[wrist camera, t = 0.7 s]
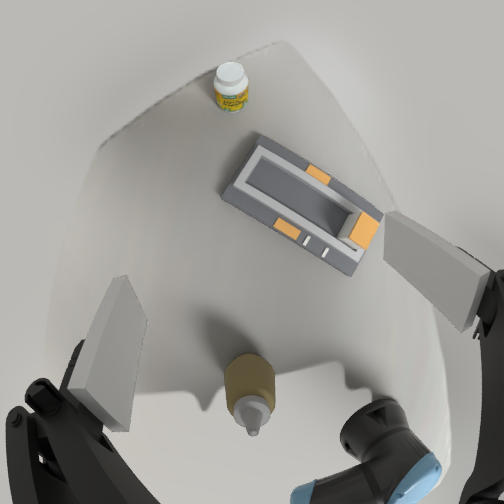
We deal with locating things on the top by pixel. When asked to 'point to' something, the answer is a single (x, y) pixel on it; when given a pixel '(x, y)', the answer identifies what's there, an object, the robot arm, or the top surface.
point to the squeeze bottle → (250, 391)
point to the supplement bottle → (231, 87)
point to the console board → (298, 202)
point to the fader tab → (358, 231)
